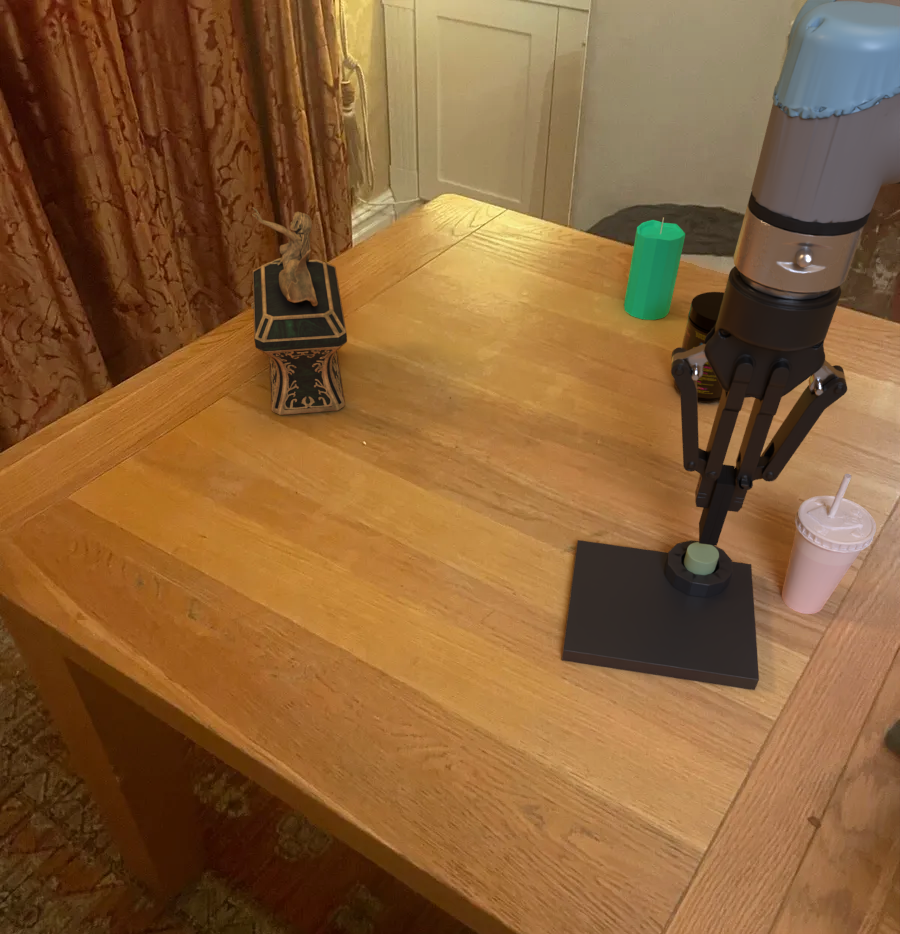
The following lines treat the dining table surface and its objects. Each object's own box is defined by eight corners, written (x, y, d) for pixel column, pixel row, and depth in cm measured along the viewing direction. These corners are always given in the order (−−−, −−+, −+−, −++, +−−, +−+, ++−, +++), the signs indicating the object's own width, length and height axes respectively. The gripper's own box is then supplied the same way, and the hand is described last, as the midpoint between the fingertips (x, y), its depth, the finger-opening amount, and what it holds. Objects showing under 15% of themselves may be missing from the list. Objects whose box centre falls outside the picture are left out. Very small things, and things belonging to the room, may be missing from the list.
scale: (747, 572, 85) (755, 548, 82) (754, 690, 75) (764, 667, 73) (576, 548, 86) (580, 524, 84) (561, 660, 76) (565, 637, 74)
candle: (665, 323, 117) (684, 231, 108) (619, 315, 118) (634, 223, 109) (672, 302, 121) (691, 211, 112) (628, 294, 122) (643, 204, 113)
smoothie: (768, 568, 85) (814, 446, 75) (839, 583, 84) (895, 461, 74) (764, 616, 81) (813, 493, 71) (839, 632, 79) (899, 510, 69)
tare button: (714, 556, 82) (718, 544, 81) (715, 577, 80) (719, 565, 79) (683, 552, 82) (687, 539, 81) (683, 573, 80) (687, 560, 79)
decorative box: (261, 347, 110) (237, 181, 96) (340, 341, 112) (328, 177, 98) (265, 444, 97) (238, 267, 83) (355, 437, 98) (343, 261, 84)
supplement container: (734, 407, 104) (758, 324, 96) (674, 403, 104) (694, 319, 96) (726, 375, 108) (749, 293, 101) (669, 371, 109) (688, 289, 101)
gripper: (690, 289, 60) (630, 552, 77) (894, 312, 58) (787, 574, 75) (690, 241, 65) (634, 497, 82) (878, 260, 64) (781, 517, 80)
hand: (707, 534), depth 79 cm, fingers closed
